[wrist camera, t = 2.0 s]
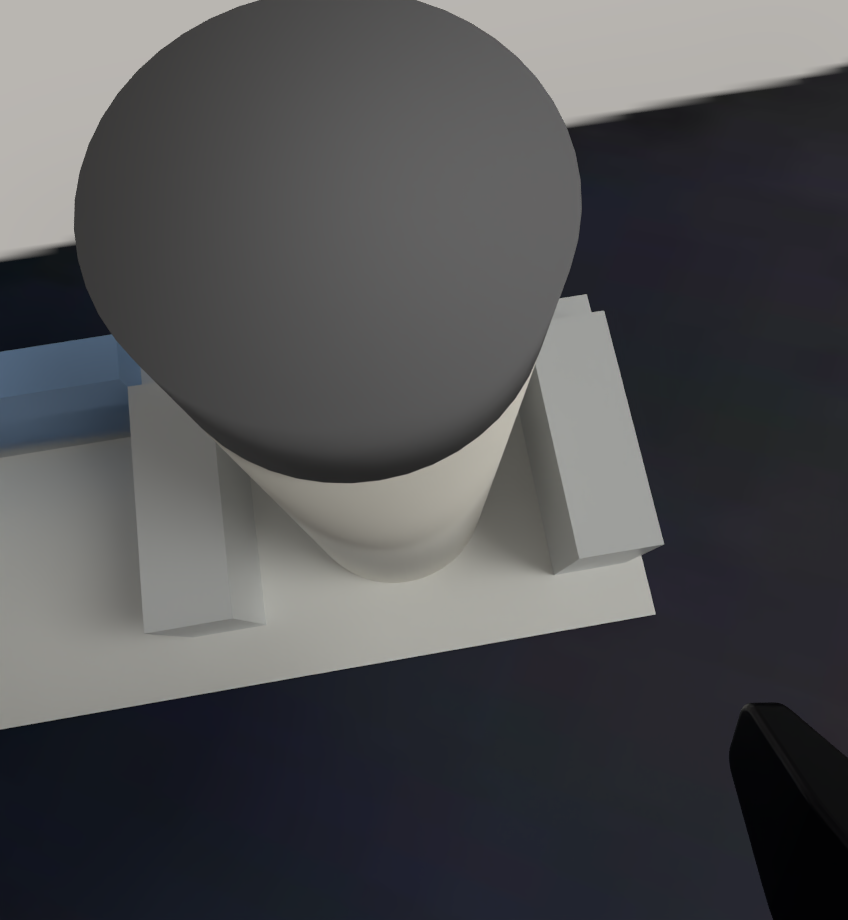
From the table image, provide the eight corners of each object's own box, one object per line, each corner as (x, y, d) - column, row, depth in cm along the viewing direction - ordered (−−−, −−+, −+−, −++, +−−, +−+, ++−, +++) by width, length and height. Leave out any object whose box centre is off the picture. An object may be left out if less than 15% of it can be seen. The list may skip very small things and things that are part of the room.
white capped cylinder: (414, 619, 20) (382, 542, 6) (271, 515, 21) (-34, 245, 7) (516, 473, 21) (676, 137, 7) (375, 379, 22) (285, -82, 8)
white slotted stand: (647, 615, 21) (710, 604, 16) (-179, 761, 20) (-366, 793, 15) (576, 327, 23) (614, 244, 18) (-166, 447, 22) (-324, 391, 17)
